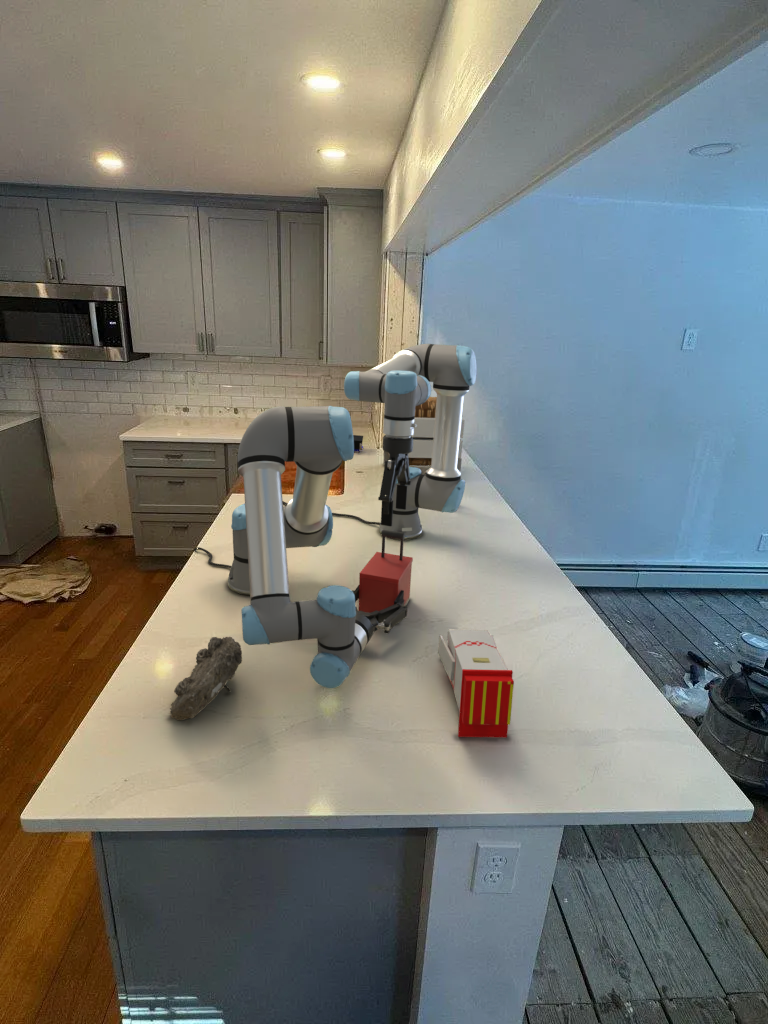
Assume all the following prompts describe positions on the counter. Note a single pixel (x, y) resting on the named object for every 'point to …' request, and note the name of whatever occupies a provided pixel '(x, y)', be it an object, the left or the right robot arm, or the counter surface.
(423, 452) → the white boxy piece
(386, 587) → the chest
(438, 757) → the counter surface
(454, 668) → the toy
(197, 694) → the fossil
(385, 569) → the lid
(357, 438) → the figurine character
